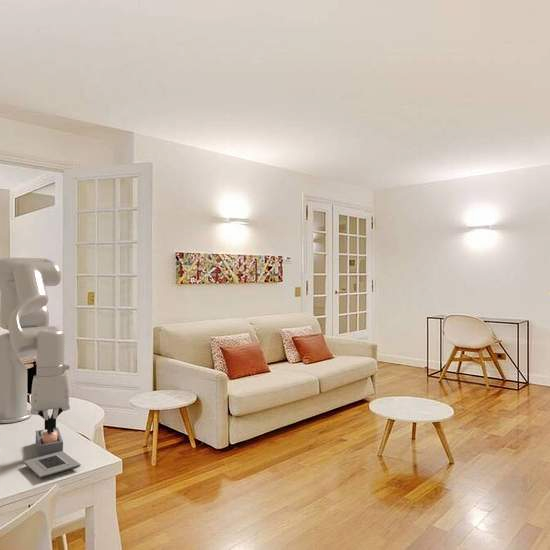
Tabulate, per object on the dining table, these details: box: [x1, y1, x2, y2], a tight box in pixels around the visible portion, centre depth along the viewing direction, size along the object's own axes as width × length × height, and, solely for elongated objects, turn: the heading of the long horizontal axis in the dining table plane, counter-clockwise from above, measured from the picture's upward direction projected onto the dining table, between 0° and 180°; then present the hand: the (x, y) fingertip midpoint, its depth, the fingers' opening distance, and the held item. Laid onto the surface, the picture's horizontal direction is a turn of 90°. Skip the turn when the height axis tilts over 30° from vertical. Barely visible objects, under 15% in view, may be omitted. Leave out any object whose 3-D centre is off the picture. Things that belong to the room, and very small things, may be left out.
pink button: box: [43, 430, 57, 444], centre depth 138 cm, size 4×4×4 cm
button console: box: [35, 426, 64, 457], centre depth 141 cm, size 14×6×4 cm, turn 31°
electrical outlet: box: [23, 450, 81, 479], centre depth 127 cm, size 13×10×2 cm
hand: (50, 431), depth 138 cm, fingers closed
